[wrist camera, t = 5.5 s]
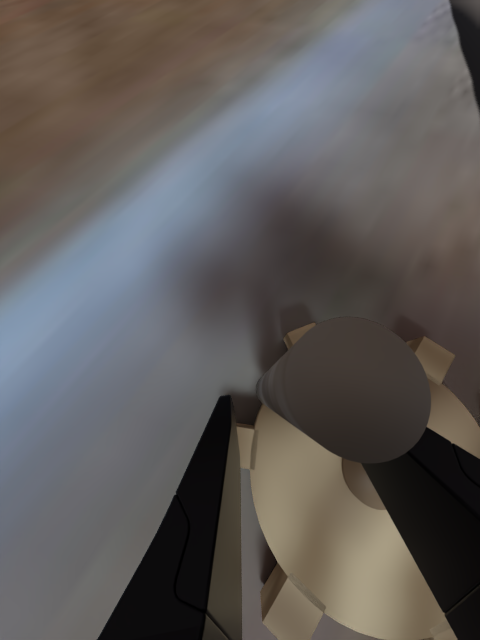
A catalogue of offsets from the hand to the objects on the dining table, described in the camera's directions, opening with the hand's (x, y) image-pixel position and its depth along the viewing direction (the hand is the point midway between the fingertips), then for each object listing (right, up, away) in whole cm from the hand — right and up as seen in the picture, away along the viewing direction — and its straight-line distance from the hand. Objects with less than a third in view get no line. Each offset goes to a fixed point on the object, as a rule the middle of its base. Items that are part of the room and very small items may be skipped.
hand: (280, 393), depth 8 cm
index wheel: (+7, -8, +8) cm, 13 cm away
